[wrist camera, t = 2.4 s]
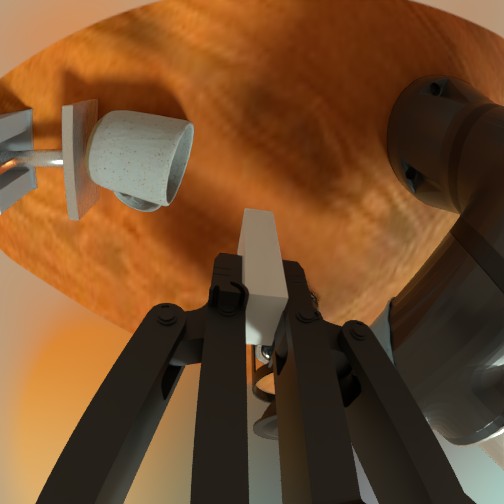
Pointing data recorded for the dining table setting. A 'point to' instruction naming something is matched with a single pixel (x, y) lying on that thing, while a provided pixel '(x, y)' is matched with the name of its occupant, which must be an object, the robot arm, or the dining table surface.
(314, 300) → the french press
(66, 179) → the plunger
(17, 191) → the grey bracket housing
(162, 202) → the ceramic mug
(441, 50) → the dining table surface
